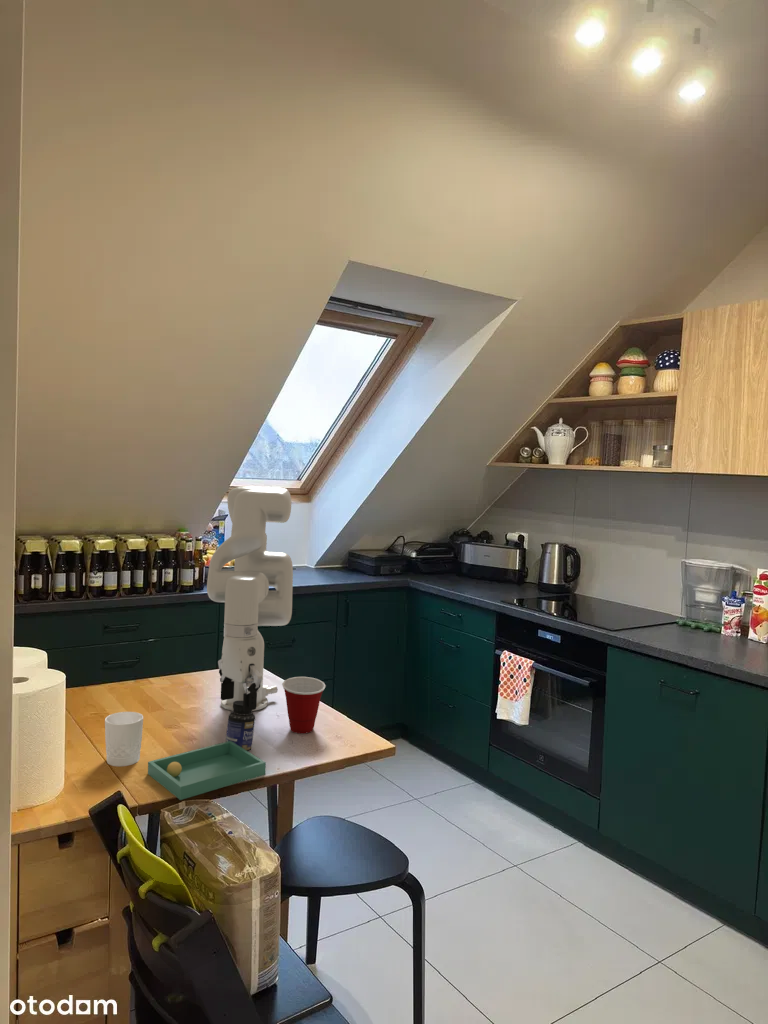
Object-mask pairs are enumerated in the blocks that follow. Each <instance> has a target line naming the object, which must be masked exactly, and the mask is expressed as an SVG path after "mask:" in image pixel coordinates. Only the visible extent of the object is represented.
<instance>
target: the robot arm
mask: <svg viewBox="0 0 768 1024" xmlns="http://www.w3.org/2000/svg"><path fill="white" fill-rule="evenodd" d="M226 503H227V510H228V514H229V518H230V521H231V523H232V524H231V531H230V532H231V534H230V537H228V538H227V539H225V540H224V541H223V542H222V543H220V545H219V546H218V547H217V549H216V550H215V551H214V553H213V554H212V556H211V558H210V561H209V566H208V573H207V580H206V592H207V596H208V598H209V599H210V600H211V601H213V602H215V603H224V616H223V617H224V622H223V626H224V627H223V643H222V648H221V649H222V650H221V658H220V659H219V660H218V661H217V665H218V669H219V671H218V674H219V676H220V678H219V680H220V705H221V708H223V709H225V710H226V711H227V710H228V711H231V712H233V710H234V709H233V702H234V701H243V711H250V710H252V712H255V711H260V710H262V709H264V708H266V707H268V704H269V699H268V698H267V696H269V695H272V694H276V693H278V687H277V685H274V686H270V687H269V685H263V684H264V663H265V662H264V661H265V660H264V659H265V658H264V657H265V641H264V637H263V636H262V634H261V632H260V631H259V629H258V627H262V626H263V627H270V626H271V627H278V626H279V627H282V626H286V625H288V624H289V623H290V621H291V619H292V615H293V588H294V587H293V586H294V585H293V584H294V583H293V582H294V580H293V579H294V567H293V561H292V558H291V557H290V555H289V554H287V553H286V552H280V551H277V552H276V551H268V550H267V546H268V545H267V544H268V543H267V540H268V535H267V533H266V529H267V528H266V526H267V525H266V524H267V523H277V524H280V523H281V524H284V523H287V522H288V520H289V519H290V516H291V513H292V496H291V493H290V491H289V489H287V488H283V487H265V486H264V487H262V486H237V487H234V488H232V489H230V490H229V491H228V494H227V501H226ZM232 561H234V570H222V569H223V568H224V566H226V565H227V564H228V563H230V562H232ZM270 587H272V588H274V589H275V590H269V589H270Z"/></svg>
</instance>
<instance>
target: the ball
mask: <svg viewBox="0 0 768 1024" xmlns="http://www.w3.org/2000/svg"><path fill="white" fill-rule="evenodd" d="M181 771H182V767H181V765H180V763H178V762H172V763H170V764H169V765H168V767H167V773H168V774H170V775H171V776H172V777H176V776H178V775H179V774H180V773H181Z"/></svg>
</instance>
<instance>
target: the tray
mask: <svg viewBox="0 0 768 1024" xmlns="http://www.w3.org/2000/svg"><path fill="white" fill-rule="evenodd" d="M172 762H178V763H180V765H181V767H182V771H181V773H180V774H179V775H178V776H176V777H172V776H171V775H170V774H168V773H167V767H168V765H169V764H170V763H172ZM266 763H267V762H266V761H265V760H263V759H262V758H259V756H256V755H254V754H253V753H251V752H250V751H246V750H245V749H243V748H242V747H240V746H238V745H237V744H235V743H233V742H232V741H227V742H226V741H224V742H220V743H216V744H212V745H208V746H204V747H201V748H196V749H192V750H189V751H184V752H181V753H176V754H172V755H169V756H165V757H160V758H158V759H153V760H150V761H149V760H148V761H147V775H149V776H150V777H151V778H152V779H153V780H155V781H156V782H157V783H158V784H159V785H161V786H162V787H163V788H165V789H166V790H167V791H168V792H169V793H171V794H172V795H173V796H175V798H177V799H178V800H179V801H182V800H185V799H189V798H193V797H195V796H200V795H202V794H206V793H208V792H212V791H215V790H218V789H221V788H225V787H228V786H232V785H235V784H238V783H241V782H244V781H249V780H250V779H254V778H258V777H261V776H266V770H267V769H266V768H267V767H266V766H267V765H266Z"/></svg>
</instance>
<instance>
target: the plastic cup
mask: <svg viewBox="0 0 768 1024" xmlns="http://www.w3.org/2000/svg"><path fill="white" fill-rule="evenodd" d="M281 685H282V687H283V690H284V696H285V700H286V701H285V702H286V710H287V717H288V723H289V728H290V731H291V732H292V733H294V734H295V733H296V734H299V735H301V734H308V733H312V732H313V731H314V728H315V724H316V719H317V716H318V710H319V706H320V703H321V698H322V695H323V691H324V690H325V688H326V684H325V682H324V681H322V680H320V679H318V678H316V677H315V678H314V677H311V676H310V677H308V676H294V677H289V678H287V679H284V681H283V682H282V684H281Z"/></svg>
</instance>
